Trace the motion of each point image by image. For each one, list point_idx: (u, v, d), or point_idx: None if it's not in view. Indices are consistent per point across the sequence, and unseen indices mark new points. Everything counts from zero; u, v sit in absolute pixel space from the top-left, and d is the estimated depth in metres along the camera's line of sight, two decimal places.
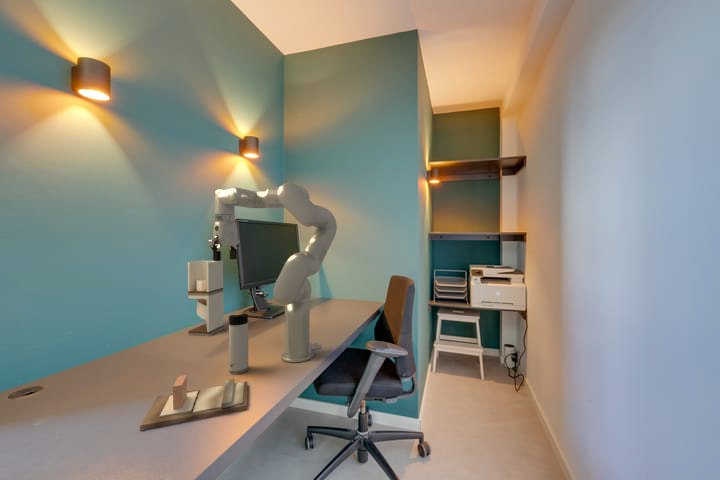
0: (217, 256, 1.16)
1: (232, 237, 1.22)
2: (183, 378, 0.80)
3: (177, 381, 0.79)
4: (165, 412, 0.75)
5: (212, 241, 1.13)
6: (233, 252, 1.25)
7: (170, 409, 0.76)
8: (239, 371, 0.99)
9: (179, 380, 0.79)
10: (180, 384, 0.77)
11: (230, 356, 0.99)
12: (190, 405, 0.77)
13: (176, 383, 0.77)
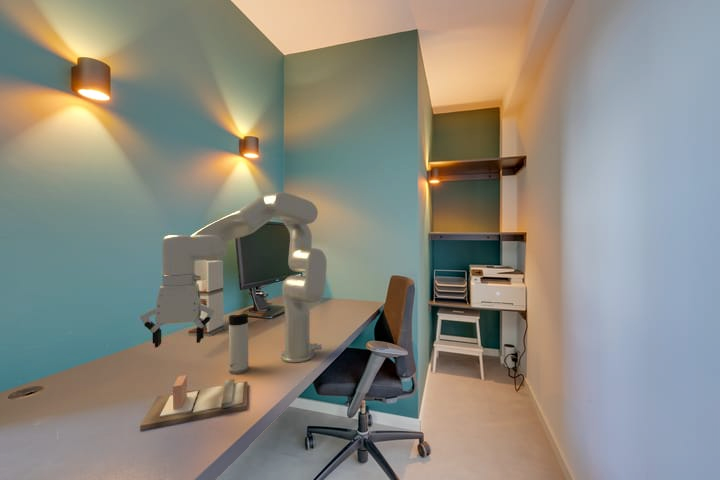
0: None
1: None
2: (183, 378, 0.80)
3: (177, 381, 0.79)
4: (165, 412, 0.75)
5: None
6: (160, 333, 0.78)
7: (170, 409, 0.76)
8: (239, 371, 0.99)
9: (179, 380, 0.79)
10: (180, 384, 0.77)
11: (230, 356, 0.99)
12: (190, 405, 0.77)
13: (176, 383, 0.77)
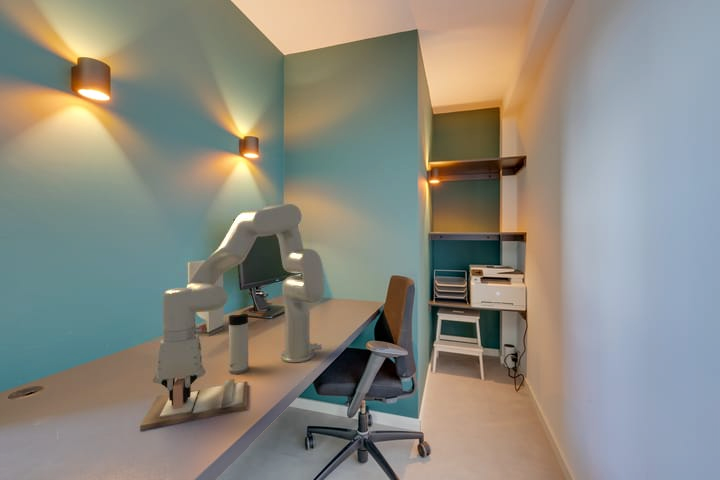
0: None
1: None
2: (183, 378, 0.80)
3: (177, 381, 0.79)
4: (165, 412, 0.75)
5: None
6: None
7: (170, 409, 0.76)
8: (239, 371, 0.99)
9: (179, 380, 0.79)
10: (180, 384, 0.77)
11: (230, 356, 0.99)
12: (190, 405, 0.77)
13: (176, 383, 0.77)
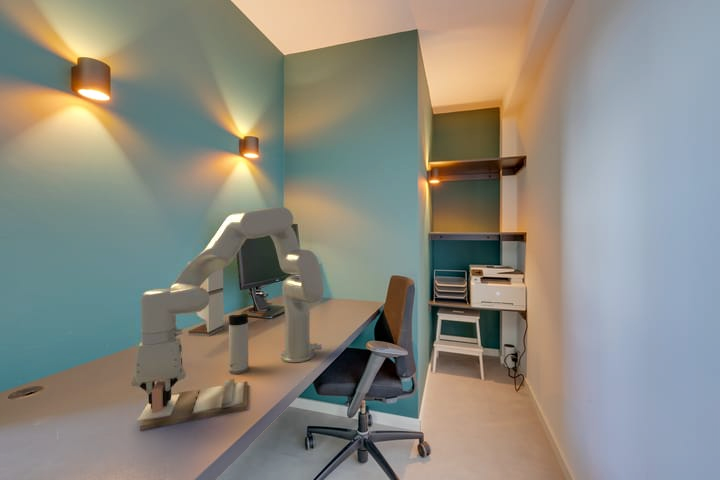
0: None
1: None
2: (163, 381, 0.79)
3: (157, 384, 0.77)
4: (143, 416, 0.73)
5: None
6: None
7: (149, 413, 0.74)
8: (239, 371, 0.99)
9: (159, 383, 0.78)
10: (159, 387, 0.75)
11: (230, 356, 0.99)
12: (170, 409, 0.76)
13: (155, 386, 0.76)
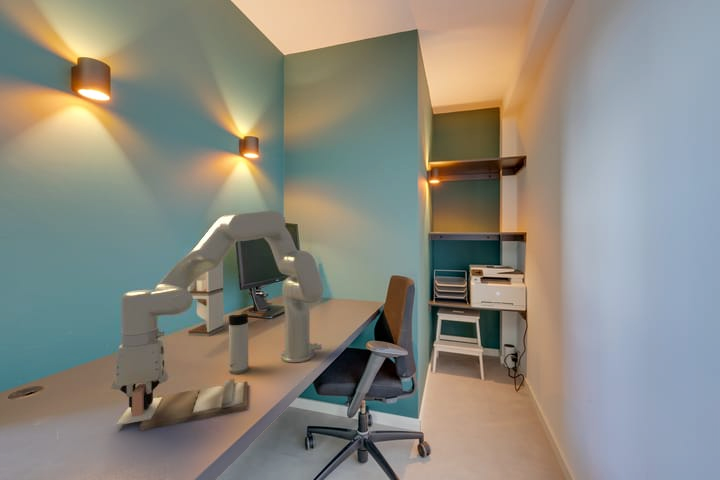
0: None
1: None
2: (145, 384, 0.77)
3: (138, 387, 0.75)
4: (123, 420, 0.71)
5: None
6: None
7: (129, 416, 0.73)
8: (239, 371, 0.99)
9: (140, 385, 0.76)
10: (140, 390, 0.74)
11: (230, 356, 0.99)
12: (151, 412, 0.74)
13: (136, 389, 0.74)
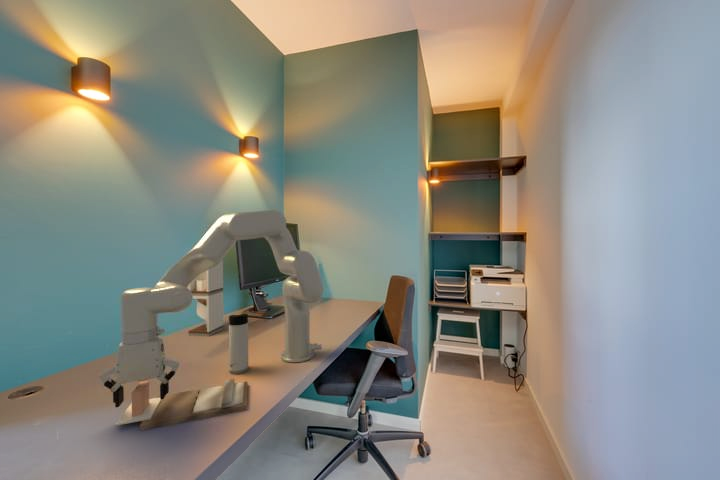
0: None
1: None
2: (144, 384, 0.77)
3: (137, 387, 0.75)
4: (122, 420, 0.71)
5: None
6: (122, 391, 0.75)
7: (128, 416, 0.73)
8: (239, 371, 0.99)
9: (140, 386, 0.76)
10: (139, 390, 0.74)
11: (230, 356, 0.99)
12: (150, 413, 0.74)
13: (136, 389, 0.74)
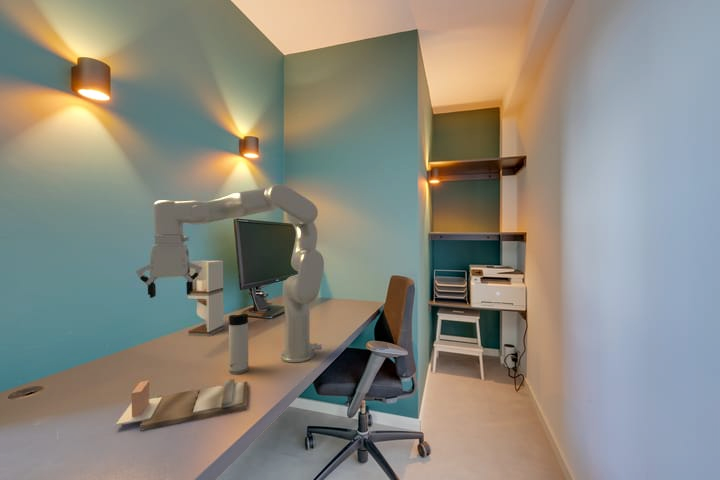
0: None
1: None
2: (144, 384, 0.77)
3: (137, 387, 0.75)
4: (122, 420, 0.71)
5: None
6: (154, 286, 0.89)
7: (128, 416, 0.73)
8: (239, 371, 0.99)
9: (140, 386, 0.76)
10: (139, 390, 0.74)
11: (230, 356, 0.99)
12: (150, 413, 0.74)
13: (136, 389, 0.74)
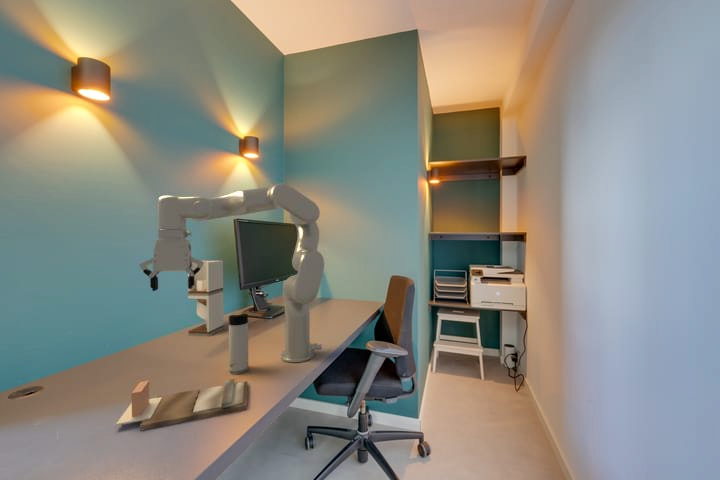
0: None
1: None
2: (144, 384, 0.77)
3: (137, 387, 0.75)
4: (122, 420, 0.71)
5: None
6: (157, 280, 0.91)
7: (128, 416, 0.73)
8: (239, 371, 0.99)
9: (140, 386, 0.76)
10: (139, 390, 0.74)
11: (230, 356, 0.99)
12: (150, 413, 0.74)
13: (136, 389, 0.74)
